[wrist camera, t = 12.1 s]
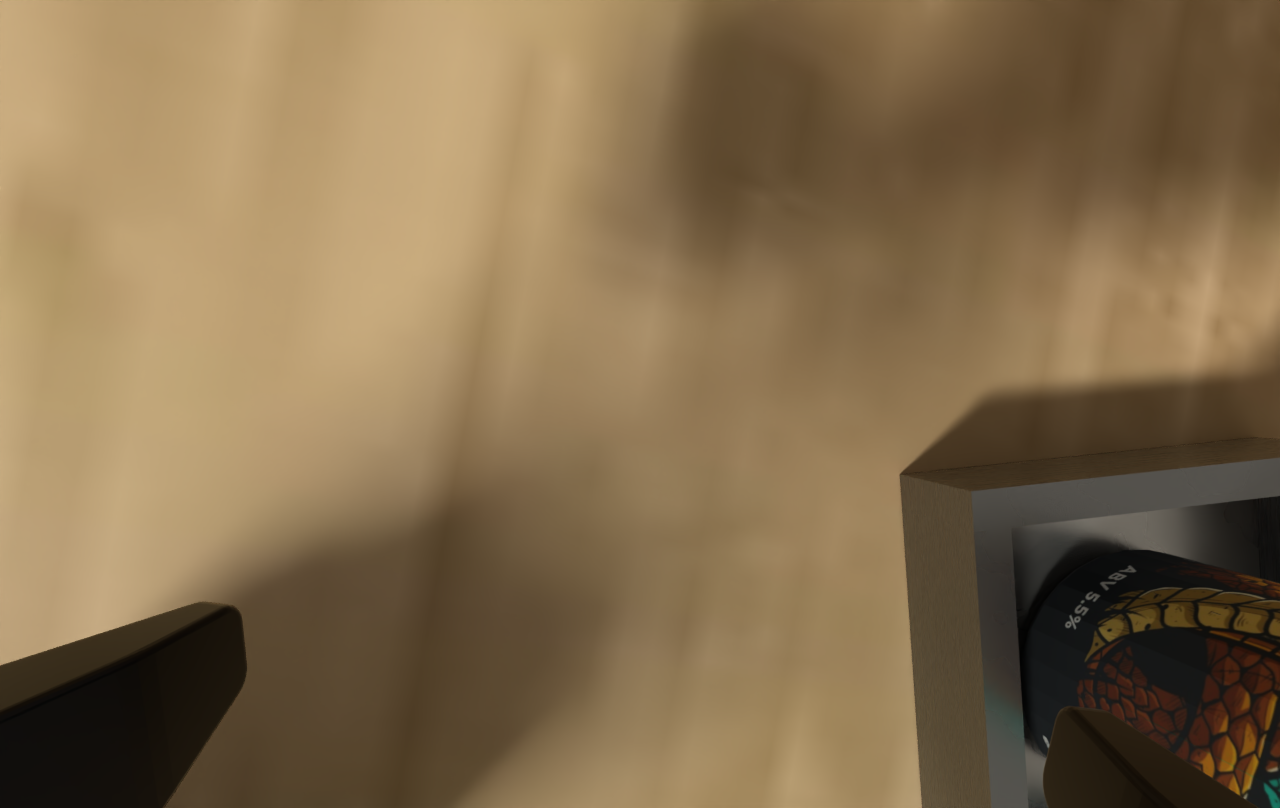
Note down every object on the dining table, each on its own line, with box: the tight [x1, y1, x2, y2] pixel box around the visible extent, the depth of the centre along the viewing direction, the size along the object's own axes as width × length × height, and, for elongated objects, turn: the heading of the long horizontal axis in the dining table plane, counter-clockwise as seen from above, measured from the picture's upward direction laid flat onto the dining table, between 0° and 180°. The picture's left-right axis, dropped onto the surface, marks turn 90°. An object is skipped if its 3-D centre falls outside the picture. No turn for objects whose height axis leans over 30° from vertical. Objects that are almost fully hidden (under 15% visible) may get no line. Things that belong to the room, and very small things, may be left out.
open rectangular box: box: [900, 438, 1280, 808], centre depth 21 cm, size 12×12×4 cm
